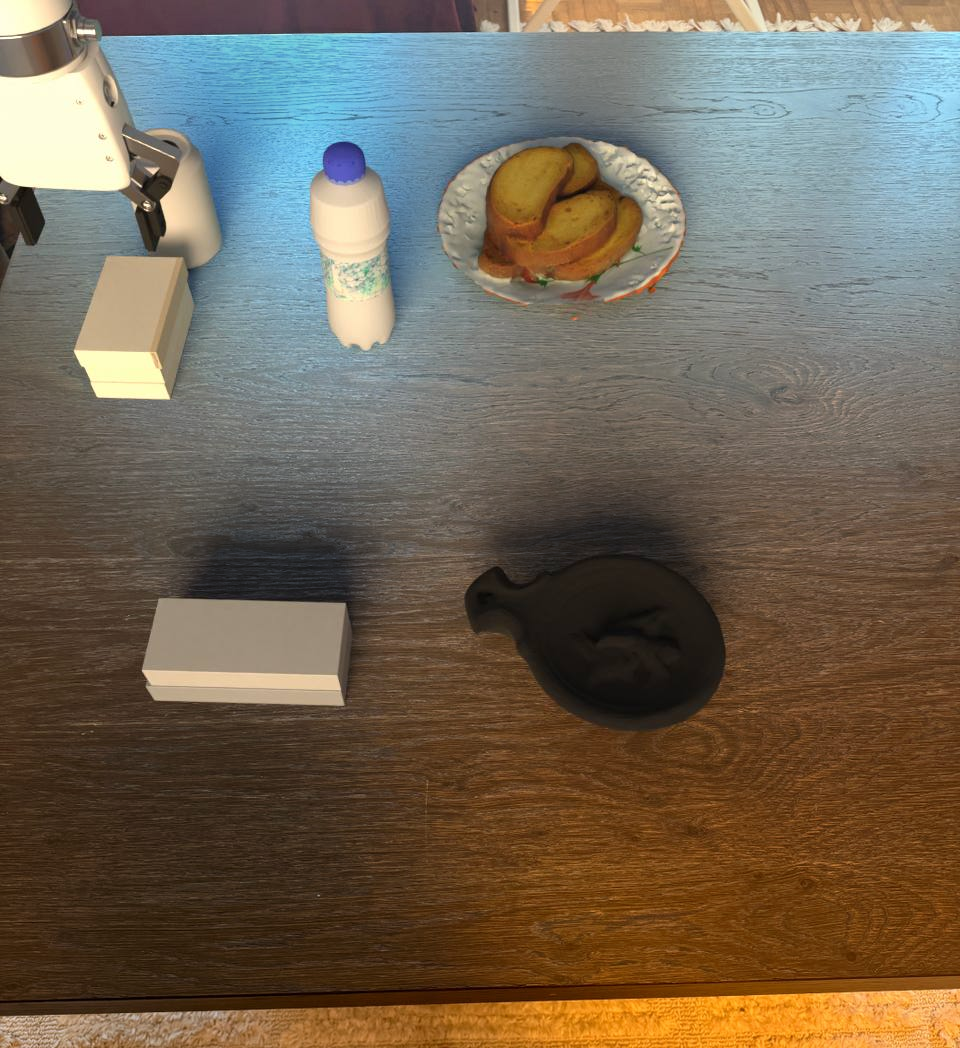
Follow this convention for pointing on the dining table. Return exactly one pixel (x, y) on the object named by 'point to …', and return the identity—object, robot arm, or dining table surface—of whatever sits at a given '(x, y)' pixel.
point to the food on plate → (562, 221)
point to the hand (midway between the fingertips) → (95, 237)
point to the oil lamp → (609, 638)
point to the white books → (147, 379)
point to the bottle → (353, 246)
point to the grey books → (249, 652)
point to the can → (186, 205)
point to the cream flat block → (132, 312)
